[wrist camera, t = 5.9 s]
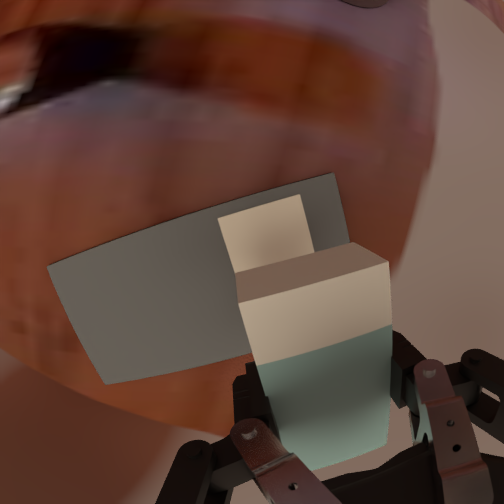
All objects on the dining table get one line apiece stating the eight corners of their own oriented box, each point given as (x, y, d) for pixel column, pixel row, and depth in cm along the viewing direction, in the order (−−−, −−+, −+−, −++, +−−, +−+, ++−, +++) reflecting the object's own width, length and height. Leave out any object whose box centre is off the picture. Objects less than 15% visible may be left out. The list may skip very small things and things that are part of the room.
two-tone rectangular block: (282, 435, 14) (291, 475, 11) (234, 272, 12) (237, 303, 9) (366, 409, 14) (386, 444, 12) (353, 242, 12) (388, 261, 9)
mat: (49, 265, 25) (45, 267, 24) (331, 172, 25) (335, 172, 24) (106, 381, 28) (104, 386, 27) (360, 312, 28) (363, 316, 28)
